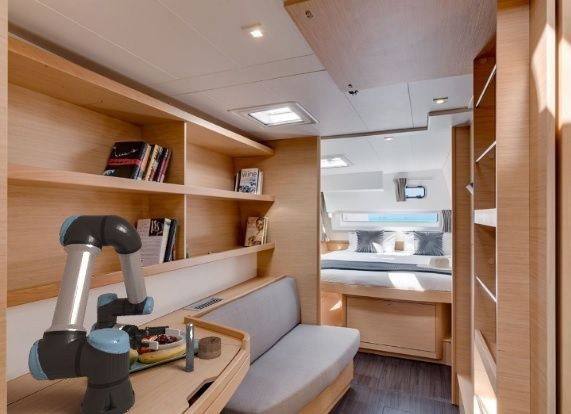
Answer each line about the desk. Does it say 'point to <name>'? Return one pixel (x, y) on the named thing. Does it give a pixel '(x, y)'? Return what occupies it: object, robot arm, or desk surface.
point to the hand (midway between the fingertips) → (169, 339)
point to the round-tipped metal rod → (190, 347)
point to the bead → (209, 347)
